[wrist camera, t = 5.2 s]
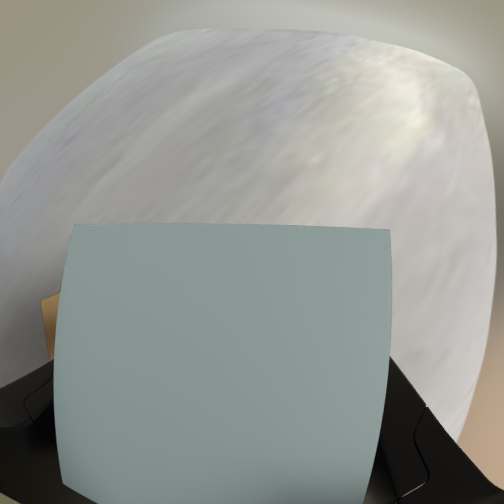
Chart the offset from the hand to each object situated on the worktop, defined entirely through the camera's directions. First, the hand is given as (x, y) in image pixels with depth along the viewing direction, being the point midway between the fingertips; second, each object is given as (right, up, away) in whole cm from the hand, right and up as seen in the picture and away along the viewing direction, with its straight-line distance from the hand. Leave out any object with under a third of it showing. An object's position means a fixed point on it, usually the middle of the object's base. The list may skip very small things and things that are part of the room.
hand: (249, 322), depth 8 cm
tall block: (+1, -3, +6) cm, 7 cm away
